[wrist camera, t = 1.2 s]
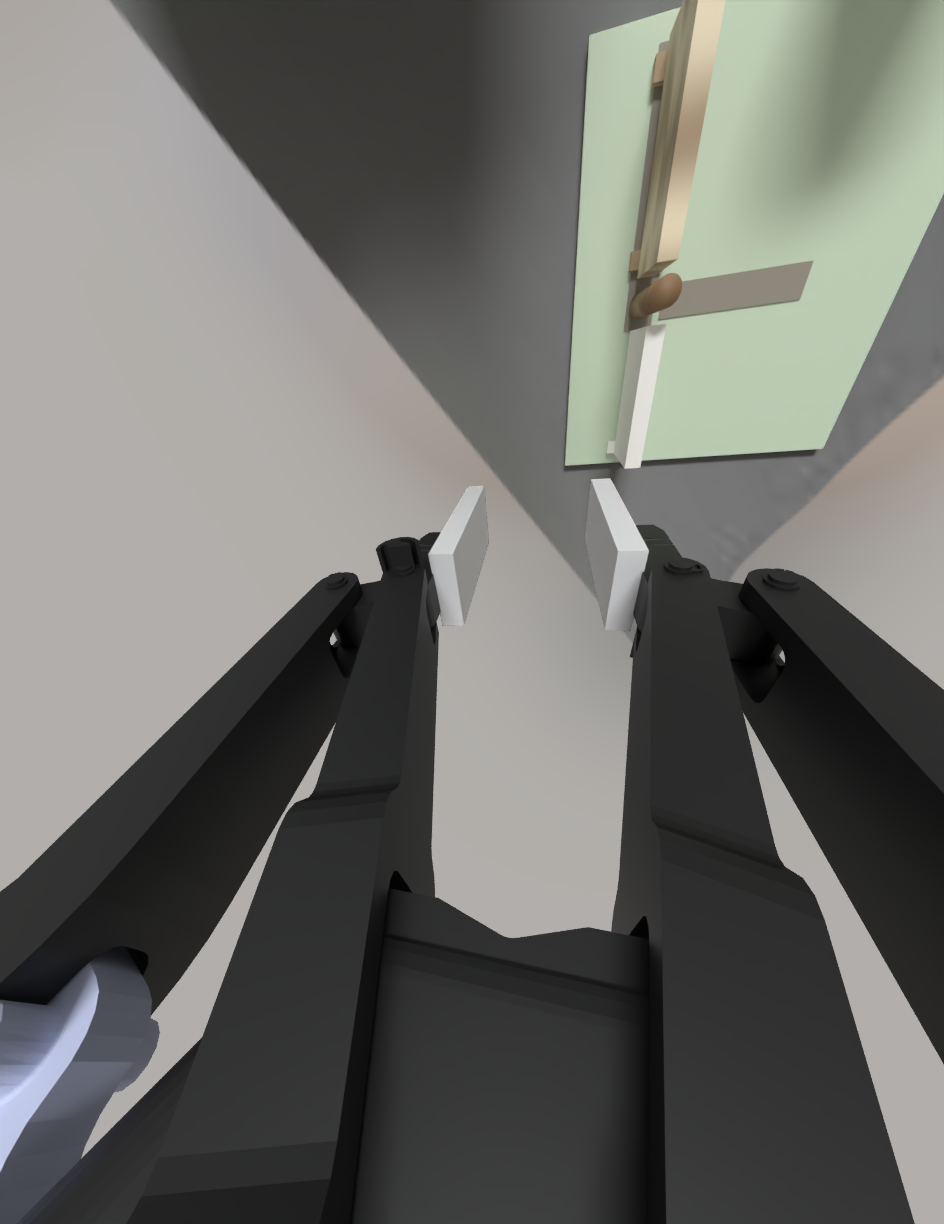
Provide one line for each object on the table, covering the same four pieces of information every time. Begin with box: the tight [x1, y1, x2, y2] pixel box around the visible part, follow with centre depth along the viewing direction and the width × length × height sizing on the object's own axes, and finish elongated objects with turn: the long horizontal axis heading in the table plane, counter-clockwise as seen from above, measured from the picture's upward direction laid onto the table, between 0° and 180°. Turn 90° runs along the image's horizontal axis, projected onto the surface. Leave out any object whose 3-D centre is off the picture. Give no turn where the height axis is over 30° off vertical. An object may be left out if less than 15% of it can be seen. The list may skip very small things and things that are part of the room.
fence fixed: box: [628, 0, 726, 319], centre depth 20 cm, size 12×2×8 cm, turn 6°
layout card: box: [565, 0, 944, 466], centre depth 25 cm, size 24×22×1 cm
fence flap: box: [606, 324, 666, 469], centre depth 27 cm, size 9×2×6 cm, turn 6°
